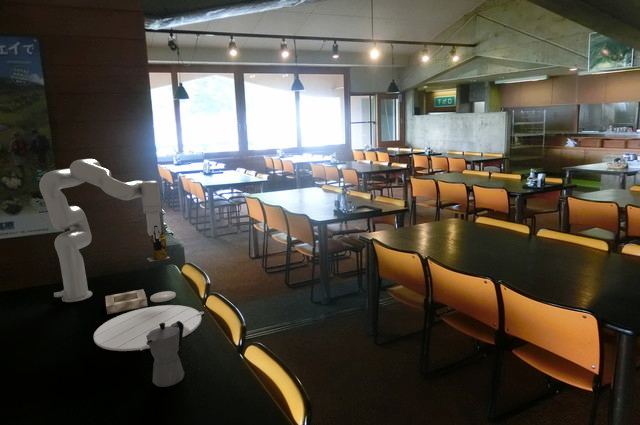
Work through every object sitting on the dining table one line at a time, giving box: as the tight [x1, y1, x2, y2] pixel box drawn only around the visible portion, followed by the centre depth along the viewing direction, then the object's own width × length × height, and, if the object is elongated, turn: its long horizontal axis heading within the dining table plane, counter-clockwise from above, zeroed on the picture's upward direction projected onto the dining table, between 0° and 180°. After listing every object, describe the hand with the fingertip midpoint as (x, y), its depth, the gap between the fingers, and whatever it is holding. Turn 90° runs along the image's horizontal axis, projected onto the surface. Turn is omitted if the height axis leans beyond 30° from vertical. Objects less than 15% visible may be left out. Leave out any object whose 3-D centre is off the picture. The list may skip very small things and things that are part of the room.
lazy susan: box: [93, 304, 205, 352], centre depth 176 cm, size 40×39×3 cm
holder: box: [104, 288, 149, 315], centre depth 200 cm, size 16×14×4 cm
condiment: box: [146, 230, 170, 262], centre depth 203 cm, size 7×8×12 cm
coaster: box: [149, 290, 177, 303], centre depth 207 cm, size 11×11×1 cm
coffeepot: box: [146, 321, 185, 388], centre depth 137 cm, size 15×9×18 cm, turn 159°
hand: (157, 248), depth 203 cm, fingers closed on condiment, 6 cm apart
